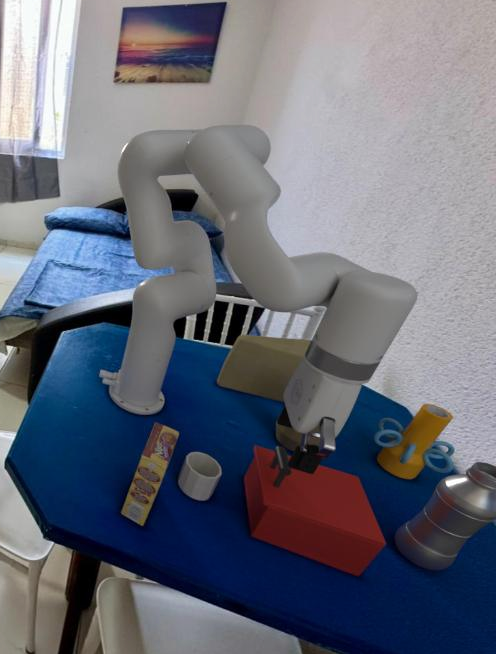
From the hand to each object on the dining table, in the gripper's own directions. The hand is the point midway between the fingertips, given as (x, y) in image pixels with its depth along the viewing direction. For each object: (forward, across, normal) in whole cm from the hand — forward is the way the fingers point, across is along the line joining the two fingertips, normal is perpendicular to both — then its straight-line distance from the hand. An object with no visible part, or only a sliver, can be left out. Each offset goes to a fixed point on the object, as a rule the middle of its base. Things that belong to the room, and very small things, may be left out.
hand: (293, 446), depth 65 cm
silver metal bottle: (+16, -2, +22) cm, 28 cm away
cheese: (+16, -37, +6) cm, 41 cm away
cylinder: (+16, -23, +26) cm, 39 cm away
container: (+16, 0, -10) cm, 19 cm away
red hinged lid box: (+16, 0, +6) cm, 17 cm away
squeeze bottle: (+16, -21, +8) cm, 28 cm away
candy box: (+16, +8, -20) cm, 26 cm away
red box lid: (+8, 0, +5) cm, 10 cm away
